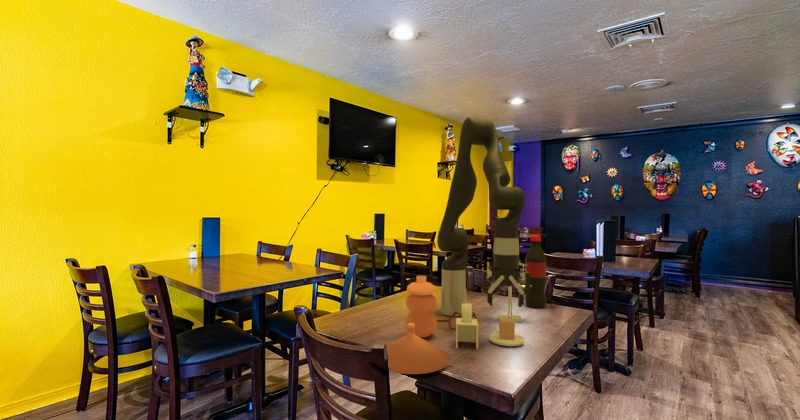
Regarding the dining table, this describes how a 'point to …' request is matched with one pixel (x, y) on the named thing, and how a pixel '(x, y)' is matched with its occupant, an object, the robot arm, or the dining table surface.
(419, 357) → the ceramic vessels
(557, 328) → the dining table surface
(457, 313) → the glasses
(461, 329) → the hood
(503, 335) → the block
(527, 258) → the cola bottle
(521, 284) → the balance
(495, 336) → the dish
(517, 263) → the robot arm
